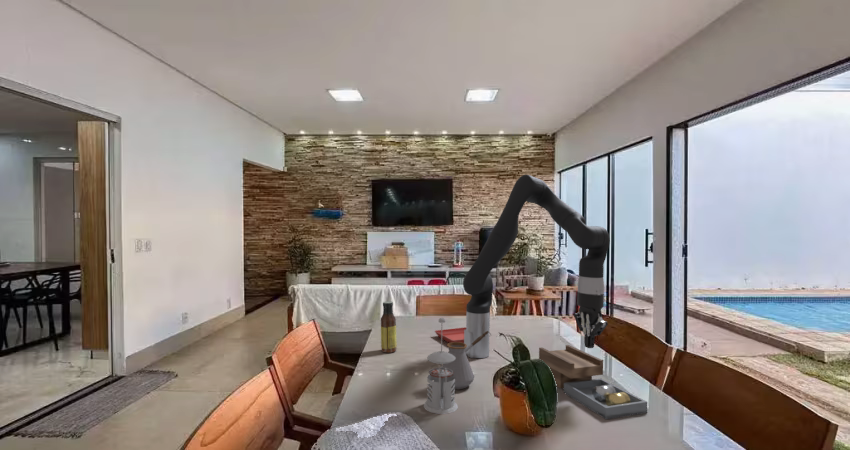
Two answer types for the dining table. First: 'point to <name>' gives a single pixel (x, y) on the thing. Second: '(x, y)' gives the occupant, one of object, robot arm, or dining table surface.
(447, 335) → the plant saucer
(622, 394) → the brass slug
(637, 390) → the dining table surface
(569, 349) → the brown open channel
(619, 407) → the grey tray
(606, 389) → the steel slug
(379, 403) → the dining table surface
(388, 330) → the sauce bottle
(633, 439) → the dining table surface
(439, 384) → the french press
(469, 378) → the coffee pot
